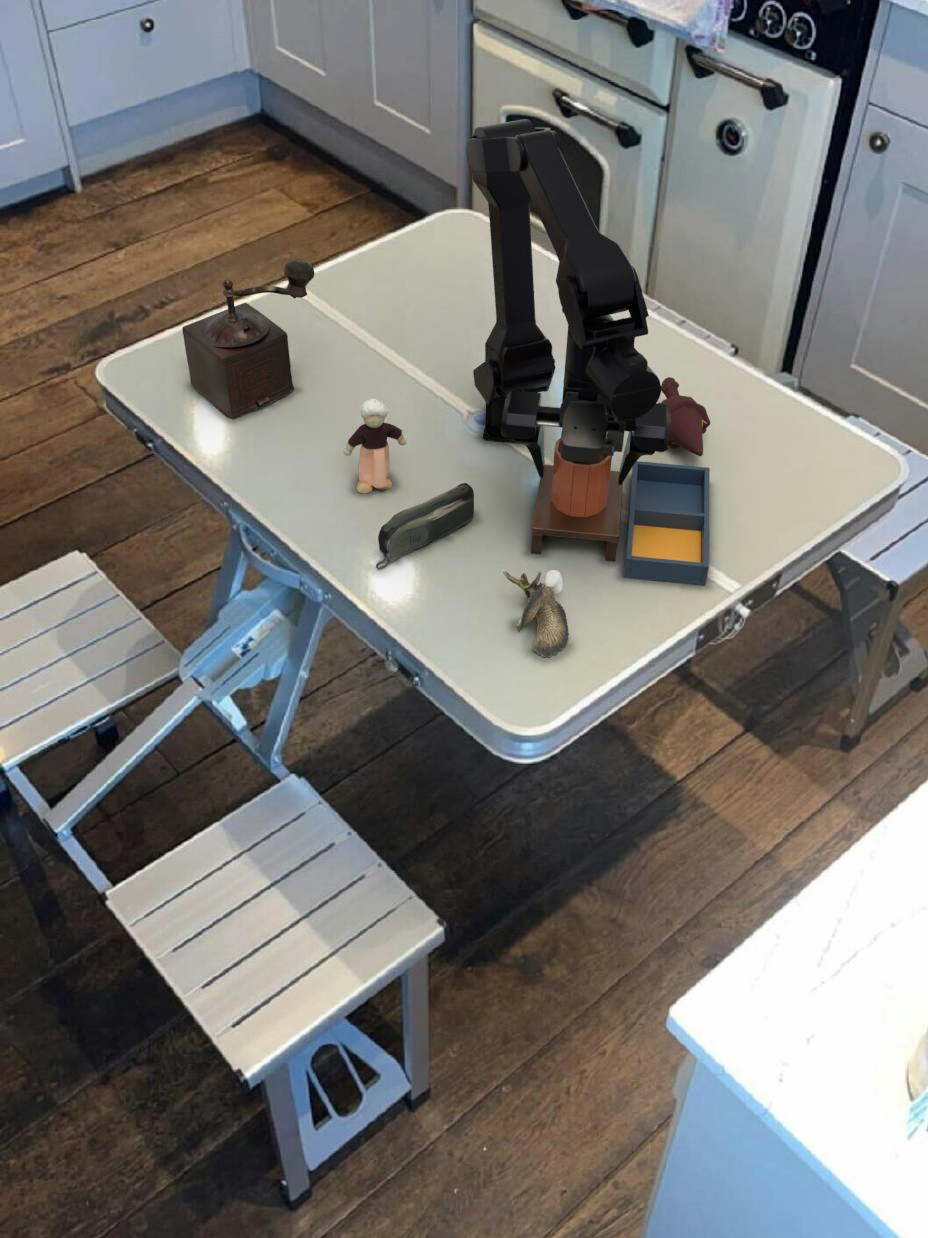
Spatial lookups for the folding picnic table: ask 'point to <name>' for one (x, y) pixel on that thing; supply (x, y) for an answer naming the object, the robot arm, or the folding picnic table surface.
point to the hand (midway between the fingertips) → (580, 479)
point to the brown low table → (577, 527)
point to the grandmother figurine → (374, 446)
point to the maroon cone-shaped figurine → (685, 419)
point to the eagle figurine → (544, 612)
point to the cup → (580, 485)
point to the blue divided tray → (668, 523)
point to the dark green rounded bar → (425, 522)
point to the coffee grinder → (243, 349)
